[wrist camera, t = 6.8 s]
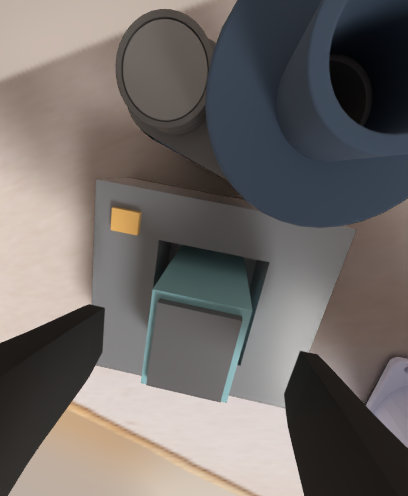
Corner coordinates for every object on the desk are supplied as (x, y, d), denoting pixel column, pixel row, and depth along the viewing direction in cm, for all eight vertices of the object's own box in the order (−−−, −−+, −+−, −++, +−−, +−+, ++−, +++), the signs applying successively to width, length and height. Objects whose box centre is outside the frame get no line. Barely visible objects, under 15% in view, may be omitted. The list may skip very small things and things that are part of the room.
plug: (243, 256, 14) (253, 315, 8) (227, 321, 15) (226, 409, 10) (182, 244, 14) (149, 293, 8) (171, 309, 15) (138, 389, 10)
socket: (325, 215, 13) (360, 231, 10) (275, 361, 16) (288, 413, 13) (128, 177, 14) (92, 179, 10) (116, 326, 17) (86, 368, 13)
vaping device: (254, 193, 13) (420, 339, 2) (169, 143, 13) (-327, -93, 1) (282, 148, 12) (938, -140, 1) (192, 93, 12) (-523, -1415, 1)
